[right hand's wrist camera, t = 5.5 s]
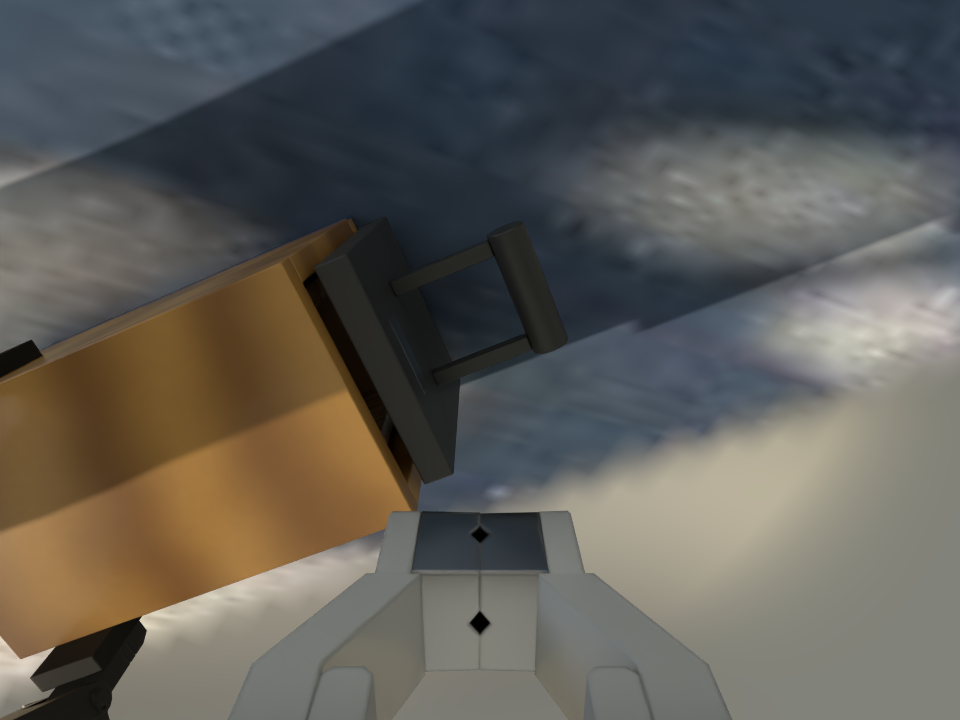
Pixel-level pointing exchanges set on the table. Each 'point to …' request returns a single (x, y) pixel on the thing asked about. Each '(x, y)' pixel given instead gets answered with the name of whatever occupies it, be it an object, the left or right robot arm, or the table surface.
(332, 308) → the drawer
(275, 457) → the cabinet
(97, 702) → the left robot arm
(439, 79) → the table surface
